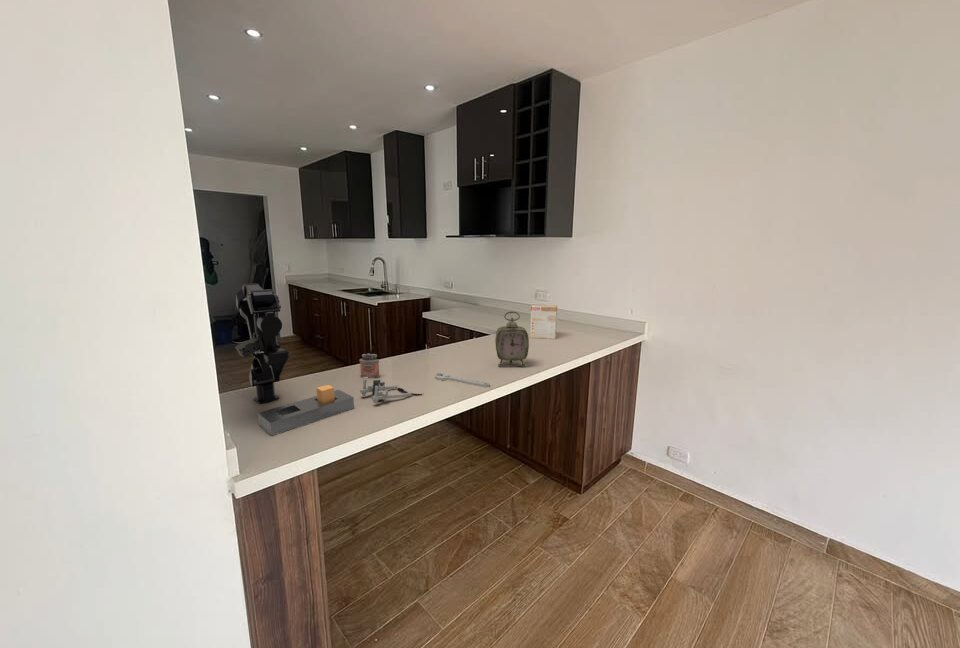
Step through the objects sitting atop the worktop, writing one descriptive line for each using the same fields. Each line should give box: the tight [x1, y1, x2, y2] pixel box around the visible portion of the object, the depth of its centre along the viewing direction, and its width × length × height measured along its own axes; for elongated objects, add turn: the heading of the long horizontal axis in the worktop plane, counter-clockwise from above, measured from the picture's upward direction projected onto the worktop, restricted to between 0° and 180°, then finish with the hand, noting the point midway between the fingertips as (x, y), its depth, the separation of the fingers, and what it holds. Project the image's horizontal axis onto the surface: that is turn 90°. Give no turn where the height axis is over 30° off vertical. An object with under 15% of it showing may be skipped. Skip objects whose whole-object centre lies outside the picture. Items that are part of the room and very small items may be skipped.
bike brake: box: [359, 378, 423, 404], centre depth 140 cm, size 14×7×20 cm
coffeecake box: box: [529, 303, 558, 340], centre depth 229 cm, size 15×7×20 cm, turn 74°
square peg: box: [316, 384, 335, 404], centre depth 127 cm, size 4×4×8 cm
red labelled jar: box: [359, 353, 381, 379], centre depth 159 cm, size 8×3×10 cm, turn 83°
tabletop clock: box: [494, 311, 530, 368], centre depth 174 cm, size 14×9×25 cm, turn 91°
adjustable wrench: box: [434, 372, 491, 388], centre depth 154 cm, size 25×6×2 cm, turn 58°
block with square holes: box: [257, 389, 355, 436], centre depth 123 cm, size 10×26×4 cm, turn 138°
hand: (270, 376), depth 124 cm, fingers open, 9 cm apart
